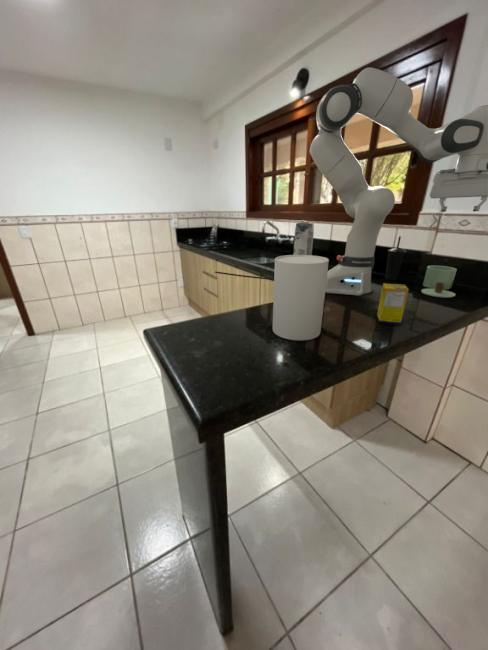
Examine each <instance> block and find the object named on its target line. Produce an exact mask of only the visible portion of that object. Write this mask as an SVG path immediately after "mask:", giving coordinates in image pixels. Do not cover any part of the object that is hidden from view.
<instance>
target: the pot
mask: <svg viewBox="0 0 488 650" xmlns="http://www.w3.org/2000/svg"><path fill="white" fill-rule="evenodd" d="M457 270H458V268H455V267H452V266H446V265H428V266H426V270H425V274H424V277H423V281H422V286H423V287H424V288H425V287H426V288H427V289H435V288H436V285H437V282H444V283H445V284H444V287H443V290H451V289H452V286H453V283H454V280H455V277H456V275H457V274H456V273H457Z"/></svg>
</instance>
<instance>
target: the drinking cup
mask: <svg viewBox="0 0 488 650" xmlns="http://www.w3.org/2000/svg"><path fill="white" fill-rule="evenodd" d="M401 238H402V236H401V235H400V236H398V241H397V246H396V247H392V248H390V249H388V250H387V261H386V269H385V276H384V277H385V280H388V281H396V280H398V279H397V278H398V275H399V273H400V270H401V266H402V263H403V261H404V257H405V255H406V253H407V250H405V249H403V248H401V247H400V242H401Z"/></svg>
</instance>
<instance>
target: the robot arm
mask: <svg viewBox="0 0 488 650" xmlns="http://www.w3.org/2000/svg"><path fill="white" fill-rule="evenodd" d="M413 102H414V93H413V89H412V88H411V86H409V85H408V84H407V83H406V82H405V81H403V80H402V79H400V78H398V77H397V76H395V75H393V74H391V73H390V72H387V71H384V70H382V69H378V68H375V67H372V66H371V67H366V68H363V69H362V70H361V71H360V72H359V73H358V74H357V75H356V77H355V78H354V79H353V82H352V83H347V84H339V85H336V86H334V87H332V88H330V89H329V90H328V91H327V92H326V93H325V94H323V95H322V97H321V99H320V100H319V102H318V105H317V107H316V111H315V124H316V130H317V135H316V136H315V137H314V138H313V139H312V142H311V144H310V147H309V155H310V156H311V159H312V161H313V162H314V164H315V166H316V168H317V169H318V171H319V172H320V173H321V174H322V176H323V177H324V178H325V180H326V181H327V182H328V183H329V185H330V186H331V187H332V189H333V190H334V192H335V193H336V194H337V196H338V198H339V200H340V202H341V203H342V206H343V207H344V210H345V212H346V214H347V215H348V216H349V217H351V218H353V219H354V220H353V223H352V226H351V229H350V230H349V232H348V234H347V236H346V242H345V250H344V254H343V255H341V254H338V255H337V256H336V260H337V261H338V264H336V265H335V266H333V267H332V268H331V269H328V272H327V280H326V289H325V294H326V293H327V294H339V295H351V296H362V295H365V294H369V293H371V292H372V291H373V290H372V271H373V270H374V269H373V268H374V265H375V259H376V257H375V253H376V246H377V241H378V237H379V234H380V232H381V229H382V227H383V224H384V223H385V219H386V217H388V215H389V214H390V213H391V212H392V210H393V209H394V207H395V203H396V197H395V193H394V192H393V191H392V190H391V189H390V188H388V187H385V186H382V185H381V186H380V185H375V186H370V185H369V184H368V182H367V180H366V178H365V175H364V168H363V166H362V164H361V163H360V162H359V160H358V159H357V158H356V156H355V155H354V153H353V152H352V150H351V149H350V148H349V147H348V145H347V144H346V143H345V141H344V139H343V137H342V129H343V128H344V127H345V126H346V125H347V124H348V123H350V121H351V120H352V119H353V118H354V116H356V115H361V116H365V117H366V118H367V119H369V120H371V121H372V122H374V123H376V124H378V125H380V126H381V127H383V128H385V129H386V130H388V131H389V132H391V133H392V134H393V135H394V136H395V137H397V138H399V140H402V141H403V142H404V143H406V144H407V145H409V146H410V147H412V149H414V151H415V152H416V154H417V155H418V157H419V159H420V160H421V161H423V162H424V163H428V164H432V163H435V162H438V161H440V160H442V159H445V158H447V157H451V156H454V155H458V156H457V161H456V165H455V168H448V169H440V170H439V171H437V172H436V173H434V175H433V178H432V185H431V189H430V192H429V198H430V199H439V201H438V202H439V205H440V210H439V211H440V213H446V212H447V209H448V206H446V205H445V203H444V202H446V200H447V199H454V198H480V202H479V203H478V204H477V205H474V206H473V210H472V212H480V210H481V207H482V206H483V204H485V202H486V201H487V200H488V104H487V105H486V104H484V105H480V106H478V107H476V108H475V109H474V110H472V111H471V112H469V113H467V114H466V115H464V116H462V117H460V118H457V119H454V120H452V121H450V122H448V123H446V124H444V125H442V126H440V127H437V128H430V127H427V126H426V125H425V124H423V123H422V122H420V121H419V120H418V119H417V118H415V117H414V116H413V114H412V113H411V109H412V106H413ZM214 274H219V275H225V276H233V277H240V278H249V279H250V278H251V279H259V280H268V281H269V280H270V281H274V277H264V276H253V275H244V274H235V273H231V272H230V273H229V272H222V271H215V272H214Z"/></svg>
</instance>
